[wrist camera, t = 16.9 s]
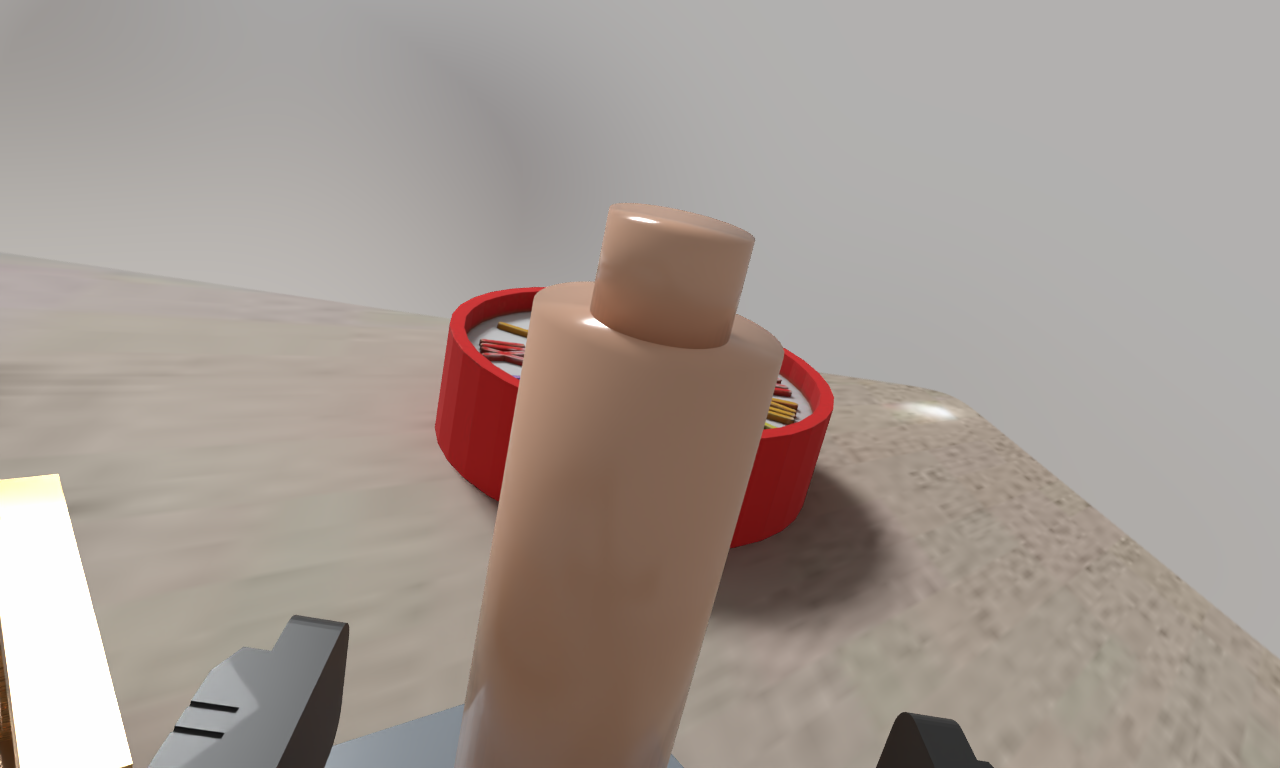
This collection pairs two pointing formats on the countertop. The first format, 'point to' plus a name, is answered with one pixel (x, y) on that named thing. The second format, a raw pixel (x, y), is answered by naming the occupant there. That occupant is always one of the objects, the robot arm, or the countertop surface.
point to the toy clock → (487, 395)
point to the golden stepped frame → (50, 641)
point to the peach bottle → (618, 498)
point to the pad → (410, 745)
